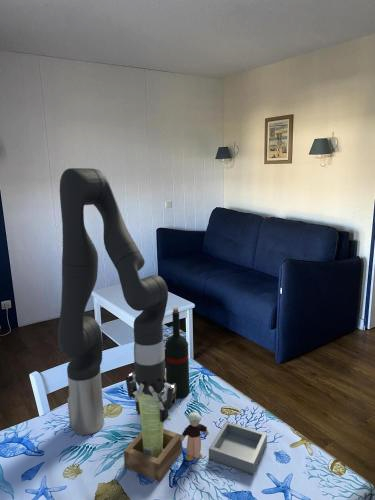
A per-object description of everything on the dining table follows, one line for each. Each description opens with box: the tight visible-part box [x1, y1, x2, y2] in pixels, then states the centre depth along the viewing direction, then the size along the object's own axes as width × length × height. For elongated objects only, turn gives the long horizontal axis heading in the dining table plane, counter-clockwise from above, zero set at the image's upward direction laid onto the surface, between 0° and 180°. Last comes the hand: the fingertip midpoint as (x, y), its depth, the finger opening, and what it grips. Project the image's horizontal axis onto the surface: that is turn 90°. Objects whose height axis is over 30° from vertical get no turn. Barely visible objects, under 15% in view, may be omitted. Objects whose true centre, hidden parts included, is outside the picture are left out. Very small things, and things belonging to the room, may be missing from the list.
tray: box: [208, 421, 268, 477], centre depth 100 cm, size 12×12×4 cm
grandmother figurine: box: [180, 411, 210, 462], centre depth 99 cm, size 8×4×13 cm, turn 117°
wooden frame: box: [123, 428, 183, 483], centre depth 98 cm, size 10×12×5 cm
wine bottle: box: [164, 307, 191, 400], centre depth 125 cm, size 8×10×30 cm
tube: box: [137, 392, 167, 458], centre depth 97 cm, size 6×5×20 cm
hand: (152, 416), depth 96 cm, fingers closed on tube, 6 cm apart
